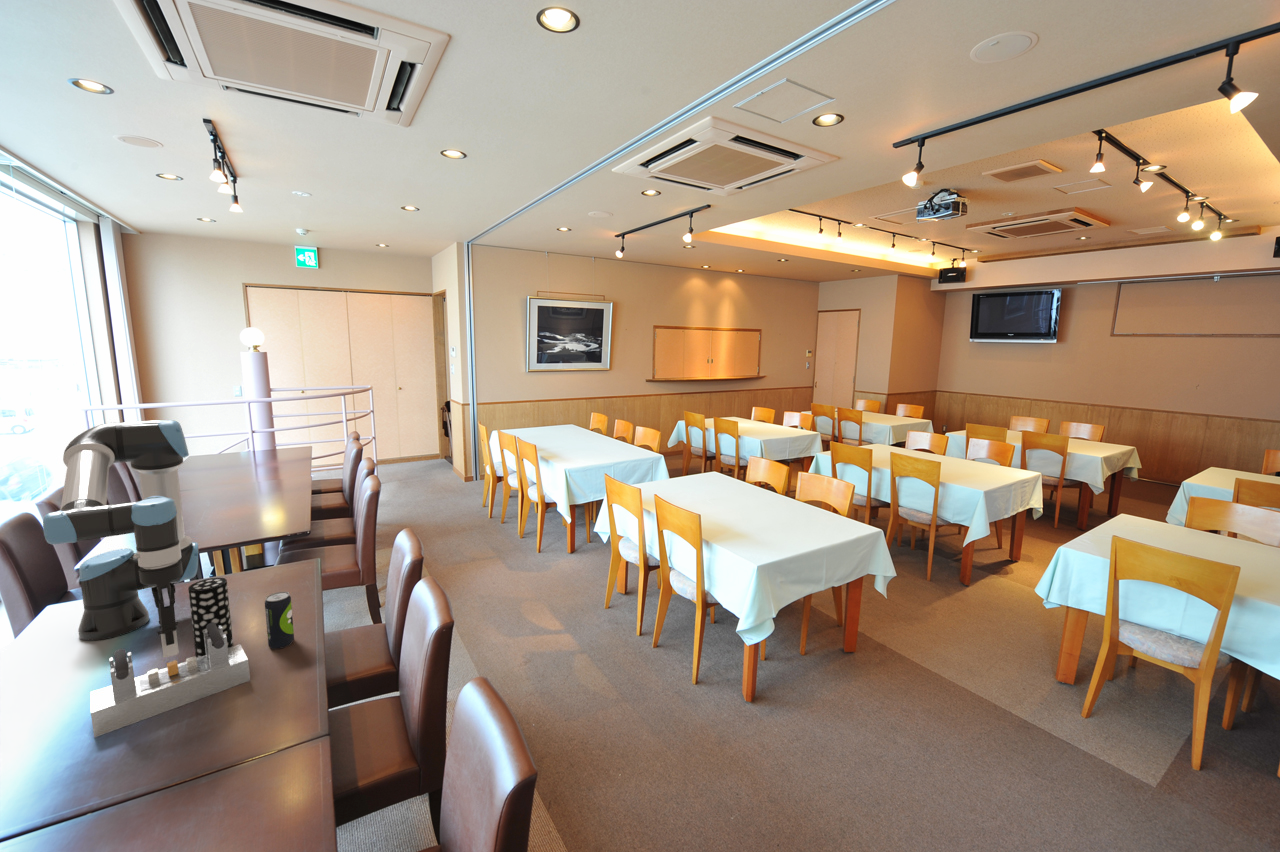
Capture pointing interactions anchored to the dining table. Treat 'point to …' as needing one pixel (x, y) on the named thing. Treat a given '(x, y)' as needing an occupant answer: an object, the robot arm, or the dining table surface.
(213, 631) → the dark grey rod
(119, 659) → the dark grey bar handle
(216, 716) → the dining table surface
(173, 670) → the breaker paddle
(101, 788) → the dining table surface
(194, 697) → the white parts holder tray
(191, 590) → the spotted tube
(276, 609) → the beverage can
